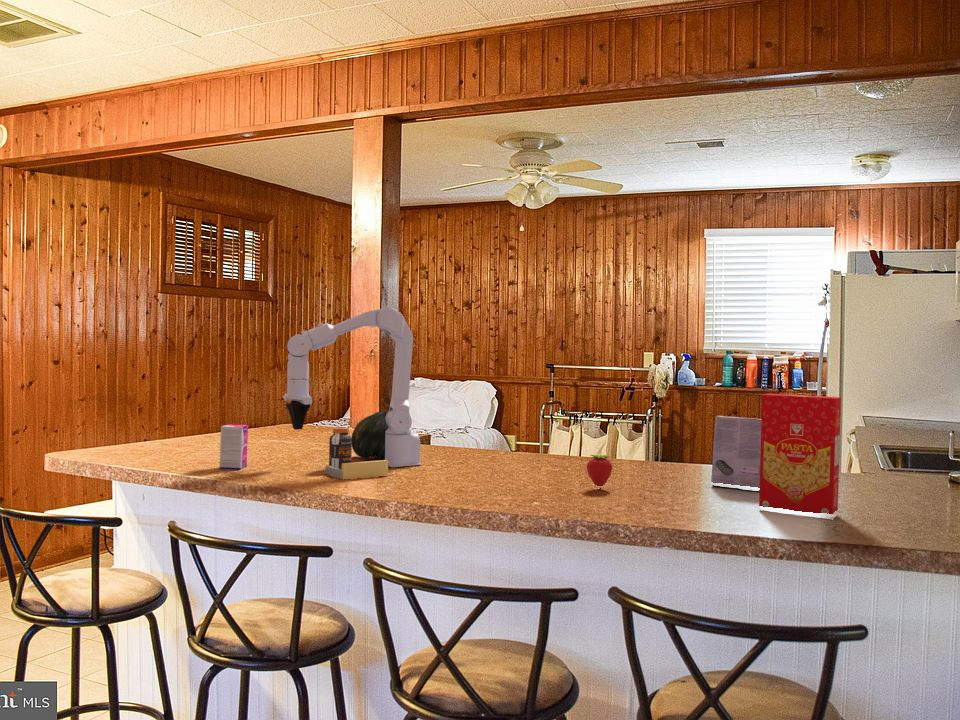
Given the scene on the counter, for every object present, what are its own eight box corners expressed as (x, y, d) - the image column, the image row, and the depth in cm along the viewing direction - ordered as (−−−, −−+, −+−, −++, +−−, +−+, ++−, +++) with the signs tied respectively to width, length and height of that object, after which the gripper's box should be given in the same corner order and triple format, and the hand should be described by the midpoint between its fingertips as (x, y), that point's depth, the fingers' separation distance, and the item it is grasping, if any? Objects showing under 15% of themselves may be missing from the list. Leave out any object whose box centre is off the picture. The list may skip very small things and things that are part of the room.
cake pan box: (795, 493, 195) (797, 419, 195) (792, 496, 191) (794, 421, 190) (715, 484, 205) (717, 414, 204) (710, 487, 200) (712, 416, 200)
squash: (344, 436, 244) (355, 402, 235) (391, 436, 250) (404, 403, 241) (352, 473, 234) (364, 439, 225) (401, 472, 241) (415, 439, 232)
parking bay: (368, 469, 217) (368, 454, 217) (387, 476, 208) (388, 460, 208) (325, 473, 210) (325, 458, 210) (343, 480, 201) (343, 464, 201)
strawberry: (581, 490, 193) (582, 448, 193) (593, 485, 200) (594, 445, 199) (605, 493, 190) (606, 450, 190) (616, 488, 197) (617, 447, 196)
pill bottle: (339, 471, 213) (340, 429, 213) (324, 469, 217) (324, 427, 216) (356, 469, 218) (356, 427, 218) (340, 466, 222) (341, 425, 221)
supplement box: (241, 470, 213) (241, 426, 213) (218, 469, 213) (219, 426, 213) (248, 466, 219) (248, 424, 219) (226, 466, 219) (226, 423, 219)
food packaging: (758, 510, 174) (762, 394, 173) (765, 506, 178) (768, 393, 177) (832, 520, 165) (836, 398, 165) (837, 516, 170) (841, 397, 169)
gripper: (274, 378, 223) (274, 427, 223) (294, 380, 211) (293, 432, 211) (298, 377, 227) (298, 425, 227) (319, 380, 215) (319, 431, 215)
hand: (297, 429), depth 220 cm, fingers closed
